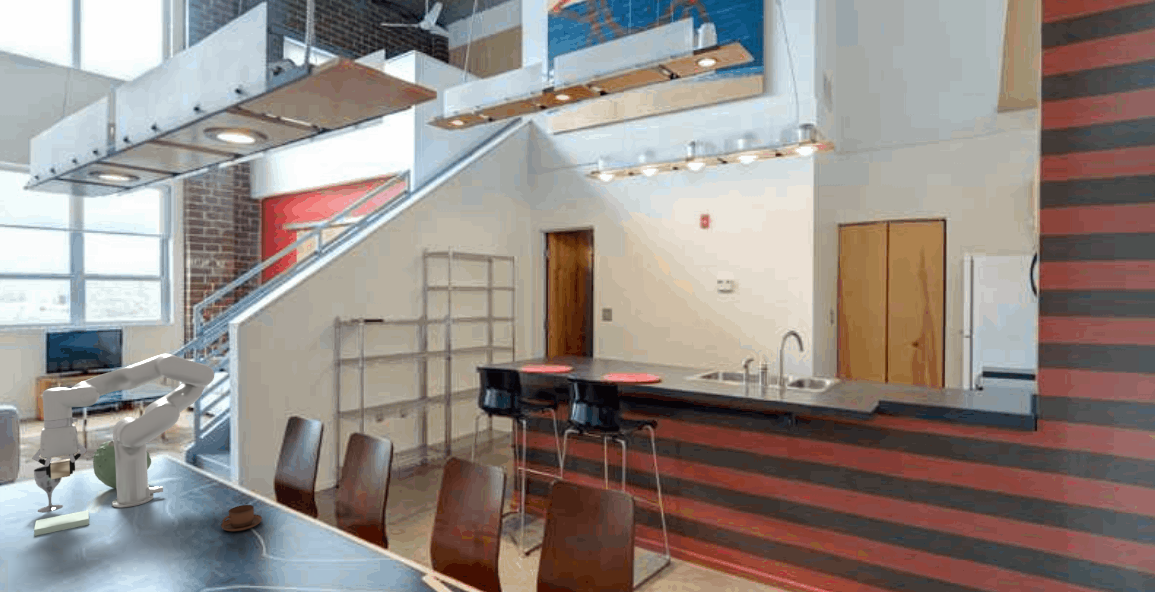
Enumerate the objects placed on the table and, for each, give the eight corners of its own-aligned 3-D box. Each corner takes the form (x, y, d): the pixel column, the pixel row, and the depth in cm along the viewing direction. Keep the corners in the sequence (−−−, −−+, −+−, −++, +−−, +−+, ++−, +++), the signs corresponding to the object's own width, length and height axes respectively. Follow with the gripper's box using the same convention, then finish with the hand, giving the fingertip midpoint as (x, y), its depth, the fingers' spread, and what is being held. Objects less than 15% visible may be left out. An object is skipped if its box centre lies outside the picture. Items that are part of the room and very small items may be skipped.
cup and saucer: (244, 535, 200) (243, 517, 199) (212, 533, 202) (211, 514, 202) (270, 521, 211) (269, 503, 211) (239, 518, 214) (238, 501, 214)
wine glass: (70, 504, 229) (68, 464, 229) (50, 513, 221) (47, 471, 221) (50, 504, 230) (48, 464, 229) (29, 512, 222) (27, 471, 221)
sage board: (88, 515, 218) (88, 509, 218) (89, 524, 210) (88, 518, 210) (36, 526, 210) (36, 520, 210) (34, 535, 202) (34, 529, 202)
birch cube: (70, 472, 220) (70, 458, 219) (69, 476, 216) (69, 462, 215) (52, 475, 217) (51, 461, 216) (51, 479, 213) (50, 464, 212)
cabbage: (159, 483, 251) (157, 434, 250) (104, 498, 235) (102, 446, 234) (141, 477, 259) (138, 430, 258) (87, 491, 243) (84, 440, 242)
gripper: (89, 417, 223) (92, 467, 224) (27, 425, 213) (29, 477, 214) (89, 421, 217) (91, 472, 218) (24, 429, 207) (27, 483, 208)
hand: (61, 474), depth 216 cm, fingers closed on birch cube, 5 cm apart
